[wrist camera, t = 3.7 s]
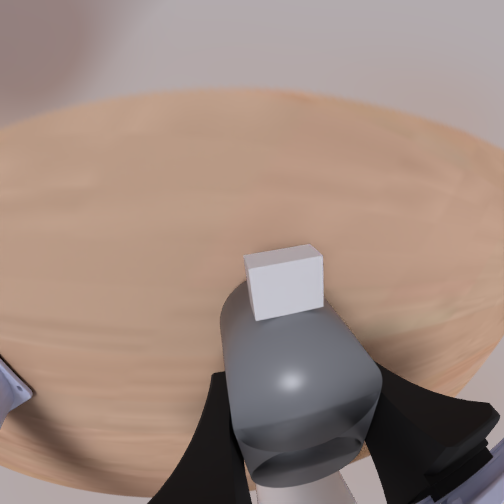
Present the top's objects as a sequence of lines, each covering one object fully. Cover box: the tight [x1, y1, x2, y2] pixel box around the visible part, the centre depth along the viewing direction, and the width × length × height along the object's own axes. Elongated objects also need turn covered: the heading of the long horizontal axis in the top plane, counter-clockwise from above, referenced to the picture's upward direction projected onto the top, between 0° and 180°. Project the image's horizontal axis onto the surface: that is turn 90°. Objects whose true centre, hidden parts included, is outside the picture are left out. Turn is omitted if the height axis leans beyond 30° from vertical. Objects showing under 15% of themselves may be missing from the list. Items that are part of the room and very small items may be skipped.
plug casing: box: [220, 244, 382, 488], centre depth 9 cm, size 10×4×5 cm, turn 7°
